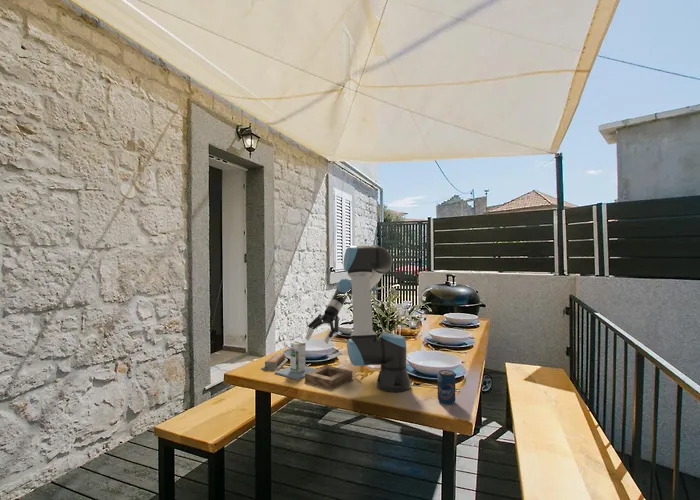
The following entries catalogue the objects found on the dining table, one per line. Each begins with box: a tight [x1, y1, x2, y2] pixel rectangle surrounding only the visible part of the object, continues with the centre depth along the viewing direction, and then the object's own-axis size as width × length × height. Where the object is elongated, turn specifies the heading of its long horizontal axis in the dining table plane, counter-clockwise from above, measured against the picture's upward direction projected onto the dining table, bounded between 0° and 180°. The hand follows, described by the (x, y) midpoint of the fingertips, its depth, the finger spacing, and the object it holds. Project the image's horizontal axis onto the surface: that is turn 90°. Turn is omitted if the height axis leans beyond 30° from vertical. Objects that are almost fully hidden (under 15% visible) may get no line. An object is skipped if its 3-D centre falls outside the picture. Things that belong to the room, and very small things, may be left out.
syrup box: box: [289, 340, 307, 373], centre depth 178 cm, size 6×6×14 cm
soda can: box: [437, 369, 456, 406], centre depth 141 cm, size 7×7×12 cm
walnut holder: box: [304, 364, 353, 389], centre depth 167 cm, size 16×16×4 cm
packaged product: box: [260, 352, 288, 371], centre depth 191 cm, size 18×5×10 cm
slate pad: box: [274, 365, 317, 381], centre depth 178 cm, size 16×16×1 cm
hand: (315, 340), depth 187 cm, fingers open, 13 cm apart
